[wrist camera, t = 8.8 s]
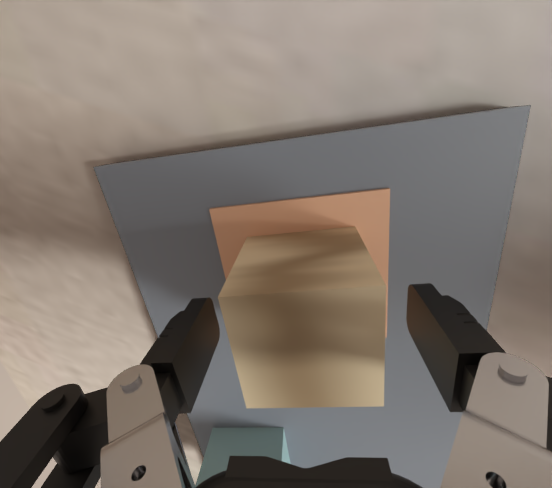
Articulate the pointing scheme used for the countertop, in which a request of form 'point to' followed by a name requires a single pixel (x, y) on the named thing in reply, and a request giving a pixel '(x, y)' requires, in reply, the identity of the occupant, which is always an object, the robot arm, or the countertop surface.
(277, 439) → the teal block
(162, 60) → the countertop surface
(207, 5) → the countertop surface
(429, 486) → the build board
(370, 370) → the maple block
